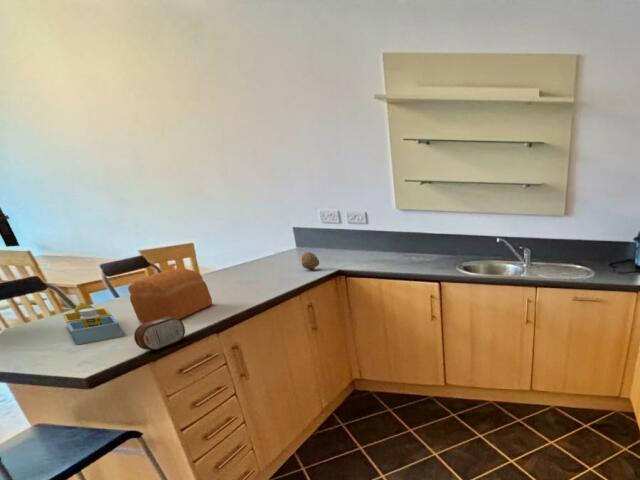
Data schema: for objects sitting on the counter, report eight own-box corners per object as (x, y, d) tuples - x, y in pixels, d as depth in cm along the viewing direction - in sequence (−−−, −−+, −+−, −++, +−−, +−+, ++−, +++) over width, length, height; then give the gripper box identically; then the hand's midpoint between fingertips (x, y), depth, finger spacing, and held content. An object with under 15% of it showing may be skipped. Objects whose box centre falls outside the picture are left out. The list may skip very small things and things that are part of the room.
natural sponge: (323, 269, 242) (320, 251, 238) (315, 272, 234) (312, 253, 230) (308, 268, 243) (305, 250, 238) (300, 271, 235) (296, 253, 230)
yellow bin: (68, 326, 146) (62, 314, 144) (110, 319, 153) (105, 307, 151) (72, 334, 139) (65, 321, 137) (116, 326, 147) (111, 314, 145)
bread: (216, 303, 174) (205, 265, 167) (174, 323, 151) (158, 280, 144) (183, 303, 174) (169, 265, 166) (134, 323, 150) (117, 279, 143)
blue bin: (73, 336, 138) (66, 322, 136) (117, 328, 145) (112, 315, 143) (77, 344, 131) (70, 330, 129) (124, 335, 139) (118, 322, 137)
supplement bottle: (92, 337, 135) (80, 312, 131) (85, 335, 137) (73, 310, 133) (110, 333, 139) (99, 308, 135) (103, 331, 141) (92, 307, 137)
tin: (182, 337, 139) (173, 312, 135) (190, 337, 138) (182, 313, 134) (139, 354, 125) (128, 327, 122) (148, 354, 125) (137, 328, 121)
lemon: (100, 326, 145) (90, 304, 141) (78, 328, 143) (68, 306, 139) (104, 321, 149) (94, 300, 146) (83, 324, 147) (73, 302, 143)
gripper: (-7, 167, 114) (32, 247, 124) (-7, 167, 129) (27, 238, 139) (-49, 166, 109) (-6, 249, 119) (-45, 166, 124) (-7, 240, 134)
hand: (12, 243), depth 129 cm, fingers open, 13 cm apart
